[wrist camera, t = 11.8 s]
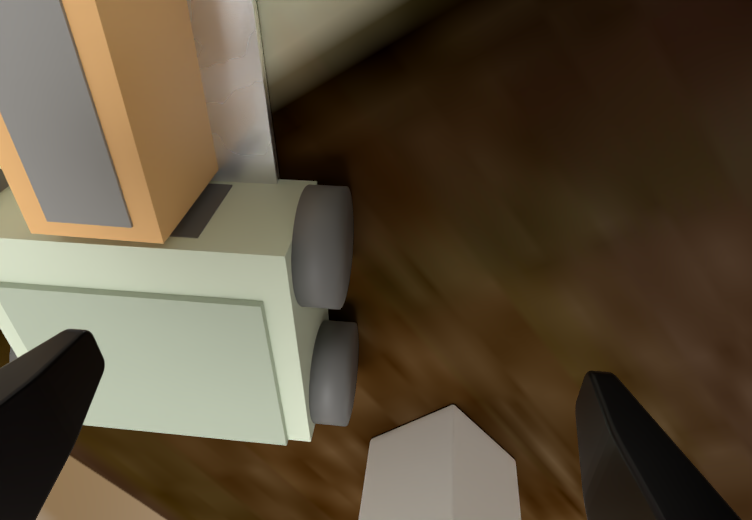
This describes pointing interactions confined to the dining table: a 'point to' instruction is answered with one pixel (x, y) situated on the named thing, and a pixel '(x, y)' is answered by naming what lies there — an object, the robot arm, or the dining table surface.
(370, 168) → the dining table surface
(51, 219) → the block
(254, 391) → the mower deck
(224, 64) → the mounting plate
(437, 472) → the milk
